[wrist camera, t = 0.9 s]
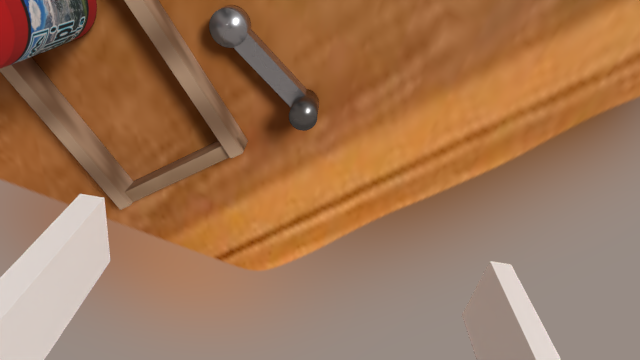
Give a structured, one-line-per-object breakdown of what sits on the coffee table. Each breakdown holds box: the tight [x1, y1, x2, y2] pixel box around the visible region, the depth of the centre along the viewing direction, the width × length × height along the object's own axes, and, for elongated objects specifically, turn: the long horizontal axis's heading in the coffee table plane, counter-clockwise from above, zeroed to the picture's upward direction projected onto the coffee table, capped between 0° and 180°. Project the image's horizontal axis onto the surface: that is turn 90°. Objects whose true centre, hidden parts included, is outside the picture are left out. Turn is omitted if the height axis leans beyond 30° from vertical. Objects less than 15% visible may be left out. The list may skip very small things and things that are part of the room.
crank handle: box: [209, 5, 319, 130], centre depth 33 cm, size 11×3×4 cm, turn 42°
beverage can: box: [0, 0, 97, 69], centre depth 27 cm, size 7×7×12 cm
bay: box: [0, 0, 248, 210], centre depth 34 cm, size 22×13×2 cm, turn 27°
